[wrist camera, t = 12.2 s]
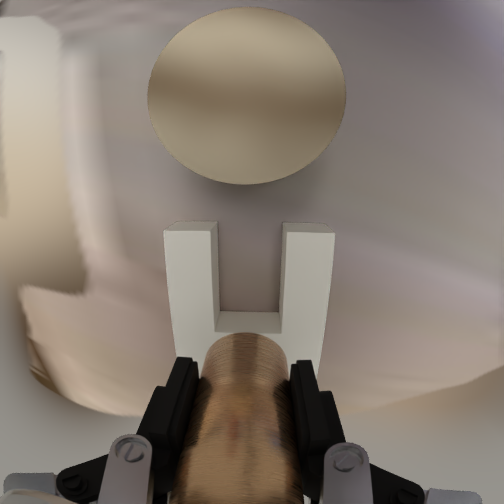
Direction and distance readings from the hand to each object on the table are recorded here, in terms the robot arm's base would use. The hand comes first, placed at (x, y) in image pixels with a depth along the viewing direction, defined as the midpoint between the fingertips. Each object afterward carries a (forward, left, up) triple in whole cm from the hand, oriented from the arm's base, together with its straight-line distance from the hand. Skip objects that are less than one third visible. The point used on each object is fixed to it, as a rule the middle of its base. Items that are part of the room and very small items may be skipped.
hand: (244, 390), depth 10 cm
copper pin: (0, 0, -2) cm, 2 cm away
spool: (-12, 0, -14) cm, 19 cm away
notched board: (+3, 0, -14) cm, 15 cm away
